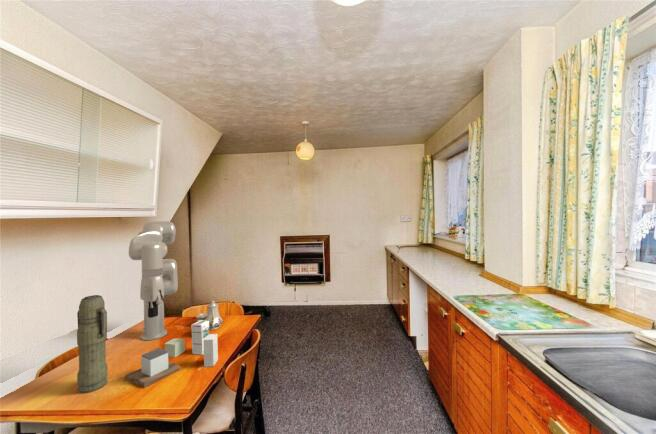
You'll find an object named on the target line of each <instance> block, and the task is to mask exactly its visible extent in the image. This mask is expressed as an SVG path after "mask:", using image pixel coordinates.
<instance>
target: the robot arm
mask: <svg viewBox="0 0 656 434" xmlns="http://www.w3.org/2000/svg"><path fill="white" fill-rule="evenodd" d="M176 230H177V229H176V226H175V224H174V223H173V222H172V221H169V220H168V221H167V220H165V221H162V220H161V221H160V220H159V221H149V222H147V223H145V224H144V226H143V227H142V230H141V231H139V232H138V234H137V235H136V236H133V238H131V240H130V242H129V246H128V257H129V258H130V259H131V260H132V261H141V281H140V288H139V289H140V295H139V297H140V300H142V301H143V331H144V332H143V334H141V335H140V340H143V341H152V340H157V339H161V338H164V337H165V336H166V335H168V330H167V329H165V305H164V304H165V303H164V301H163V299H164V296H168V295H174V294H176V293H177V291H178V289H179V288H178V287H179V280H178V279H179V278H178V277H179V276H178V263H177V260H176V259H174V258H165V257H166V255H167V254H168V246H167V245H172V244H174V242H175V240H176V233H177V231H176ZM163 258H165V259H163ZM166 276H167V277H166ZM163 277H164V278H163Z"/></svg>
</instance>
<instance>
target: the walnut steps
mask: <svg viewBox="0 0 656 434" xmlns="http://www.w3.org/2000/svg"><path fill="white" fill-rule="evenodd" d="M179 371H180V364H178V363H177V364H176V363H175V362H172V361H169V360H168V369H166V370H164V371H162V372H160V373H158V374H156V375H153V376H151V377H150V376H148V375H146V374H144V373H142V369H141V368H139V369H137V370H135V371H133V372H130V373H127V374H126V375H125V377H124V378H125V379H127V380H129V381H130V382H132V383H134V384H137V385H138V386H140V387H142V388H144V389H145V388H147V387H149V386H151V385H153V384H155V383H157V382H159V381H161V380H163V379H165V378H167V377H168V376H170V375H172V374H174V373H177V372H179Z"/></svg>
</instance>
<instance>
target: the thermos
mask: <svg viewBox="0 0 656 434" xmlns="http://www.w3.org/2000/svg"><path fill="white" fill-rule="evenodd" d="M76 313H77V314H76V315H77V330H76V342H77V343H76V345H77V346H78V371H77V374H76V375H77V377H76V380H77V382H76V383H77V392H78V393H79V394H88V393H92V392H96V391H99V390H100V389H101V388H104V386H106V385H107V384H108V375H109V373H108V370H109V369H108V364H107V362H106V357H107V355H106V354H107V353H106V341H107V338H108V332H107V331H108V312H107V310H106V308H105V300H104V298H103V296H102V295H100V294H98V295H97V294H93V295H88V296H85V297H83V298H81V300H80V303H79V305H78V311H77V312H76Z"/></svg>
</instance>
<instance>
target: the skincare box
mask: <svg viewBox="0 0 656 434" xmlns="http://www.w3.org/2000/svg"><path fill="white" fill-rule="evenodd" d="M218 352H219V346H218V334H217V333H209V334H208V335H207V337H206V338H205V339H204V354H203V363H204V365H203V366H204V368H210V367H211V368H212V367H215V365H216V364H217V361H218V360H219V353H218Z"/></svg>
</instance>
